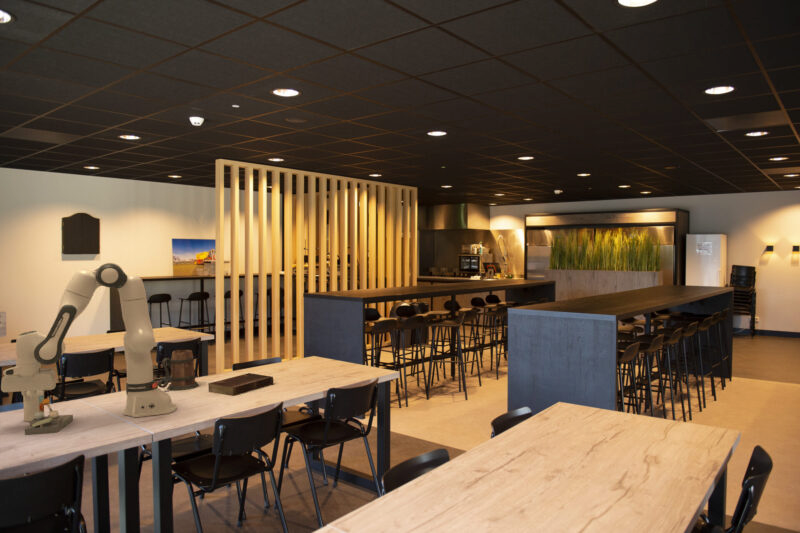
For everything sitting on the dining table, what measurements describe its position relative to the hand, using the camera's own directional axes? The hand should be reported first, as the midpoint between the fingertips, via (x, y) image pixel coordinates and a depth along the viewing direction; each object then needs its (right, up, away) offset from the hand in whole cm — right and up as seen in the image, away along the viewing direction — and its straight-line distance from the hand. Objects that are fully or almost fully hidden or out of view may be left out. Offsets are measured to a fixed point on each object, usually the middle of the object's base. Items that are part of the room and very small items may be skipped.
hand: (29, 401), depth 244 cm
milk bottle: (-5, -11, +11) cm, 16 cm away
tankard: (+38, -9, +66) cm, 77 cm away
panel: (+10, -11, -2) cm, 15 cm away
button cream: (+13, -6, -4) cm, 15 cm away
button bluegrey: (+7, -6, -5) cm, 11 cm away
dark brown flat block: (+74, -9, +64) cm, 98 cm away
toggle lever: (+9, -6, +2) cm, 11 cm away
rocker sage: (+11, -7, -9) cm, 16 cm away
